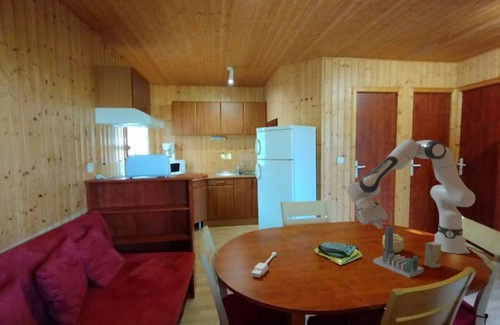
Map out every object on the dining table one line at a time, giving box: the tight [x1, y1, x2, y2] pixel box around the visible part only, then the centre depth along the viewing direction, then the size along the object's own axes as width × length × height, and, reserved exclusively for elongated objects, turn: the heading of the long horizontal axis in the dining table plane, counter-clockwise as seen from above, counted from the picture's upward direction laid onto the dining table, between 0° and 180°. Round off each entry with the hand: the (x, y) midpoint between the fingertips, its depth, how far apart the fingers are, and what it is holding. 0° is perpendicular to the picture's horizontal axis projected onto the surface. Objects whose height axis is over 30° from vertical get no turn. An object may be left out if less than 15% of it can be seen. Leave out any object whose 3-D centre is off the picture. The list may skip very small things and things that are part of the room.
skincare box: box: [424, 241, 442, 269], centre depth 142 cm, size 6×4×12 cm
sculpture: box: [382, 232, 405, 253], centre depth 163 cm, size 12×12×11 cm
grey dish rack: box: [372, 249, 425, 279], centre depth 141 cm, size 20×12×8 cm, turn 29°
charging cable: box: [251, 251, 278, 278], centre depth 147 cm, size 5×32×3 cm, turn 157°
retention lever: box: [384, 225, 394, 255], centre depth 145 cm, size 2×4×15 cm, turn 119°
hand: (381, 228), depth 148 cm, fingers closed
